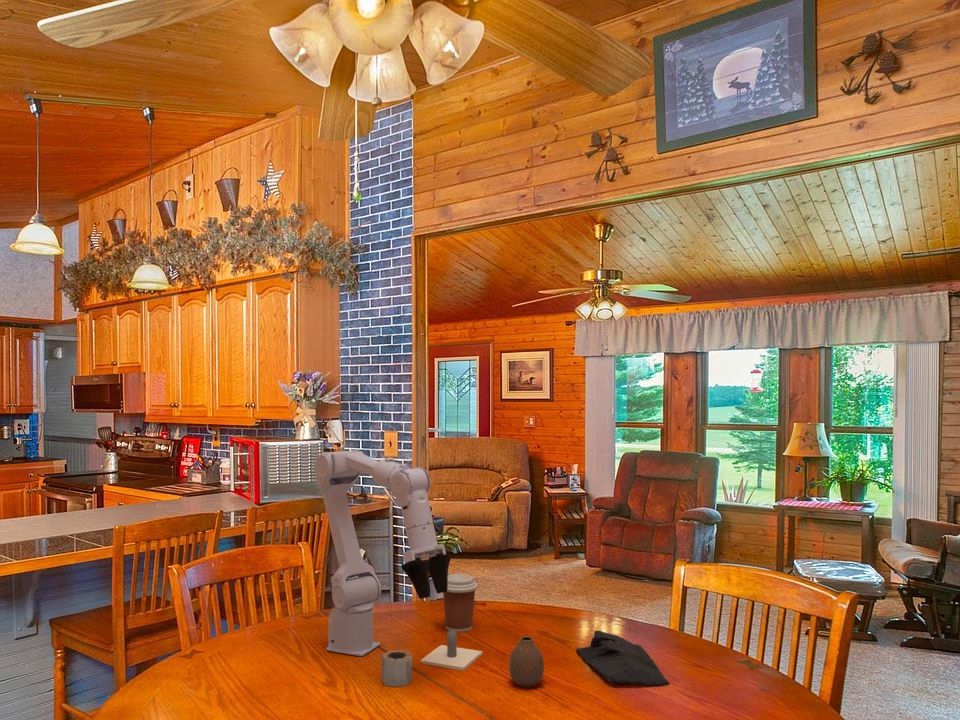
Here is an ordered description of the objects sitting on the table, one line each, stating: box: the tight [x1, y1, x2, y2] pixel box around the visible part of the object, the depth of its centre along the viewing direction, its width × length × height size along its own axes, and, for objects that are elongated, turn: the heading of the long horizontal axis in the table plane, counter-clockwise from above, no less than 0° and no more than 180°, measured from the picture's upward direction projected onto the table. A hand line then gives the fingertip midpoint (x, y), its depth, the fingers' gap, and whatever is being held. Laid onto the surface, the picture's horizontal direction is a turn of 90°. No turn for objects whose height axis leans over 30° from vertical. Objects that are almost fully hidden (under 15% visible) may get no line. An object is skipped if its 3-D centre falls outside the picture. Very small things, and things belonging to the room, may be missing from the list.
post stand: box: [419, 630, 483, 671], centre depth 156 cm, size 10×10×6 cm
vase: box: [508, 635, 545, 688], centre depth 143 cm, size 7×7×9 cm
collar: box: [381, 649, 413, 688], centre depth 144 cm, size 6×6×5 cm
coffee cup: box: [442, 573, 479, 633], centre depth 177 cm, size 9×9×12 cm
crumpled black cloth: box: [575, 630, 670, 687], centre depth 152 cm, size 15×22×5 cm
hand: (433, 595), depth 145 cm, fingers open, 7 cm apart
